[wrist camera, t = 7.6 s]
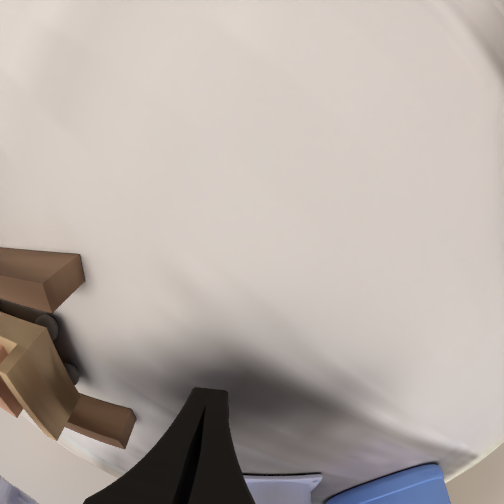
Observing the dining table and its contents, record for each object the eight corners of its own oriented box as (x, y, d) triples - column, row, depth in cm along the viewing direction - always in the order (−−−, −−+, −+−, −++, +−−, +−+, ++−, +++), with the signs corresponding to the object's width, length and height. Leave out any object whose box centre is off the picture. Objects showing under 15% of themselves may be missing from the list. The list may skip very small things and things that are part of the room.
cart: (90, 380, 13) (55, 443, 8) (11, 349, 13) (-23, 391, 8) (61, 311, 11) (3, 378, 6) (-15, 289, 11) (-60, 330, 6)
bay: (136, 419, 14) (125, 449, 11) (15, 372, 14) (1, 391, 12) (79, 254, 9) (42, 283, 7) (-38, 243, 10) (-62, 259, 7)
